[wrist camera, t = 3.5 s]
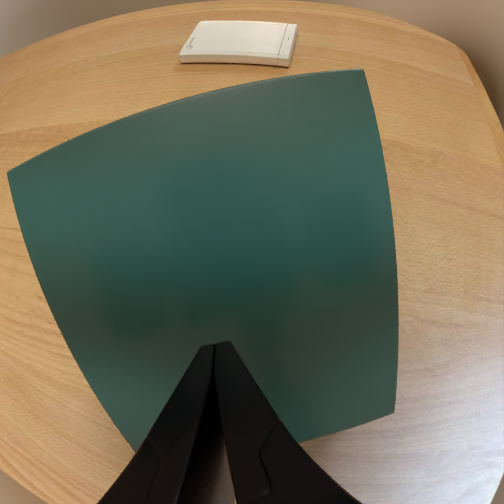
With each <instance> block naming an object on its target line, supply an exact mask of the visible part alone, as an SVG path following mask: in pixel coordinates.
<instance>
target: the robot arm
mask: <svg viewBox="0 0 504 504" xmlns="http://www.w3.org/2000/svg"><path fill="white" fill-rule="evenodd" d="M146 437H147V438H145V439H144V440H143V442H142V444H141V445H140V447H139V449H138V450H137V452H136V453H135V455H134V456H133V458H132V459H131V461H130V462H129V464H128V465H127V466H126V468H125V469H124V470H123V472H122V473H121V474H120V476H119V477H118V478H117V480H116V481H115V482H114V483H113V485H112V486H111V487H110V488H109V490H108V491H107V492H106V493H105V495H104V496H103V497H102V498H101V499H100V501H99V502H98V503H97V504H235V497H236V502H237V504H363V503H361V502H360V501H358V500H357V499H356V498H354V497H353V496H352V495H350V494H349V493H348V492H347V491H346V490H344V489H343V488H342V487H341V486H340V485H339V484H338V483H337V482H336V481H335V480H334V479H333V478H331V477H330V476H329V475H328V474H327V473H326V472H325V471H324V470H323V469H322V468H321V467H320V466H319V465H318V464H317V463H316V462H315V461H314V460H313V459H312V458H311V457H310V456H309V455H308V454H307V453H306V452H305V451H304V450H303V448H302V447H301V446H300V445H299V444H298V443H297V441H296V440H295V439H294V437H293V436H292V435H291V433H290V432H289V431H288V429H287V428H286V426H285V425H284V423H283V422H282V421H281V420H280V418H279V416H278V415H277V413H276V412H275V410H274V409H273V407H272V406H271V404H270V403H269V401H268V400H267V398H266V397H265V395H264V394H263V392H262V391H261V389H260V388H259V386H258V384H257V383H256V381H255V380H254V378H253V377H252V375H251V373H250V372H249V370H248V369H247V367H246V366H245V364H244V362H243V361H242V359H241V357H240V356H239V354H238V353H237V351H236V349H235V348H234V346H233V344H232V343H231V341H229V340H228V341H223V342H218V343H217V344H216V345H215V344H208V345H203V346H201V347H200V348H199V350H198V352H197V353H196V355H195V357H194V358H193V360H192V362H191V363H190V365H189V366H188V368H187V370H186V371H185V373H184V375H183V376H182V378H181V380H180V381H179V383H178V385H177V386H176V388H175V390H174V391H173V393H172V395H171V396H170V398H169V400H168V401H167V403H166V404H165V406H164V408H163V409H162V411H161V413H160V414H159V416H158V418H157V419H156V421H155V423H154V424H153V426H152V427H151V429H150V431H149V432H148V434H147V436H146ZM234 493H235V495H234Z"/></svg>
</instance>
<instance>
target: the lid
mask: <svg viewBox="0 0 504 504" xmlns="http://www.w3.org/2000/svg"><path fill="white" fill-rule="evenodd" d="M7 177H8V181H9V186H10V190H11V194H12V199H13V203H14V207H15V210H16V214H17V218H18V221H19V225H20V228H21V231H22V235H23V238H24V241H25V244H26V247H27V250H28V253H29V256H30V259H31V262H32V265H33V267H34V270H35V273H36V275H37V278H38V281H39V283H40V286H41V288H42V291H43V293H44V296H45V298H46V300H47V303H48V305H49V307H50V310H51V312H52V314H53V316H54V318H55V321H56V323H57V325H58V327H59V329H60V331H61V333H62V335H63V337H64V339H65V341H66V343H67V345H68V347H69V349H70V351H71V353H72V355H73V357H74V359H75V360H76V362H77V364H78V366H79V368H80V370H81V371H82V373H83V375H84V377H85V378H86V380H87V382H88V383H89V385H90V387H91V388H92V390H93V392H94V393H95V395H96V397H97V398H98V400H99V401H100V403H101V404H102V406H103V408H104V409H105V411H106V412H107V414H108V415H109V417H110V418H111V420H112V421H113V422H114V424H115V425H116V427H117V428H118V430H119V431H120V432H121V434H122V435H123V437H124V438H125V439H126V441H127V442H128V443H129V445H130V446H131V447H132V449H133V450H134V451H135V453H136V452H137V450H138V449H139V447H140V445H141V444H142V442H143V440H144V439H145V438H147V437H146V436H147V434H148V432H149V431H150V429H151V427H152V426H153V424H154V423H155V421H156V419H157V418H158V416H159V414H160V413H161V411H162V409H163V408H164V406H165V404H166V403H167V401H168V400H169V398H170V396H171V395H172V393H173V391H174V390H175V388H176V386H177V385H178V383H179V381H180V380H181V378H182V376H183V375H184V373H185V371H186V370H187V368H188V366H189V365H190V363H191V362H192V360H193V358H194V357H195V355H196V353H197V352H198V350H199V348H200V347H201V346H203V345H208V344H215V345H216V344H217V343H218V342H223V341H228V340H229V341H231V343H232V344H233V346H234V348H235V349H236V351H237V353H238V354H239V356H240V357H241V359H242V361H243V362H244V364H245V366H246V367H247V369H248V370H249V372H250V373H251V375H252V377H253V378H254V380H255V381H256V383H257V384H258V386H259V388H260V389H261V391H262V392H263V394H264V395H265V397H266V398H267V400H268V401H269V403H270V404H271V406H272V407H273V409H274V410H275V412H276V413H277V415H278V416H279V418H280V420H281V421H282V422H283V423H284V425H285V426H286V428H287V429H288V431H289V432H290V433H291V435H292V436H293V437H294V439H295V440H296V441H297V443H299V442H303V441H307V440H311V439H315V438H319V437H322V436H326V435H330V434H333V433H336V432H340V431H343V430H346V429H350V428H353V427H356V426H359V425H362V424H365V423H368V422H371V421H373V420H376V419H379V418H382V417H384V416H387V415H390V414H392V413H394V410H395V399H396V386H397V368H398V326H399V324H398V282H397V264H396V250H395V238H394V228H393V218H392V210H391V202H390V194H389V187H388V181H387V174H386V168H385V162H384V156H383V151H382V146H381V140H380V135H379V131H378V126H377V121H376V117H375V112H374V108H373V104H372V100H371V96H370V92H369V88H368V84H367V80H366V77H365V73H364V70H363V69H347V70H335V71H324V72H315V73H307V74H299V75H292V76H285V77H279V78H273V79H267V80H261V81H256V82H251V83H246V84H241V85H236V86H232V87H227V88H223V89H218V90H214V91H210V92H206V93H202V94H198V95H195V96H191V97H187V98H184V99H180V100H177V101H173V102H170V103H167V104H163V105H160V106H157V107H154V108H151V109H148V110H145V111H142V112H139V113H136V114H133V115H130V116H128V117H125V118H122V119H119V120H117V121H114V122H111V123H109V124H106V125H104V126H101V127H99V128H96V129H94V130H91V131H89V132H87V133H84V134H82V135H80V136H77V137H75V138H73V139H71V140H68V141H66V142H64V143H62V144H60V145H58V146H55V147H53V148H51V149H49V150H47V151H45V152H43V153H41V154H39V155H37V156H35V157H33V158H31V159H30V160H28V161H26V162H24V163H22V164H20V165H18V166H17V167H15V168H13V169H11V170H9V171H8V172H7Z"/></svg>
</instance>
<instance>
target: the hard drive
mask: <svg viewBox="0 0 504 504" xmlns="http://www.w3.org/2000/svg"><path fill="white" fill-rule="evenodd" d="M297 28H298V27H297V24H287V23H274V22H259V21H201V22H199V24H198V25H197V27H196V28H195V30H194V31H193V33H192V34H191V36H190V37H189V39H188V40H187V42H186V43H185V45H184V47H183V48H182V50H181V51H180V54H179V58H180V62H181V63H188V62H189V63H191V62H221V63H249V64H264V65H276V66H285V67H289V65H290V61H291V57H292V52H293V48H294V44H295V40H296V36H297Z"/></svg>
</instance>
